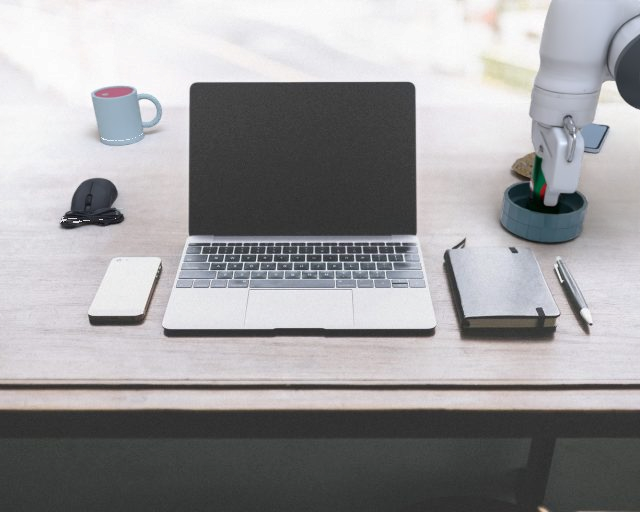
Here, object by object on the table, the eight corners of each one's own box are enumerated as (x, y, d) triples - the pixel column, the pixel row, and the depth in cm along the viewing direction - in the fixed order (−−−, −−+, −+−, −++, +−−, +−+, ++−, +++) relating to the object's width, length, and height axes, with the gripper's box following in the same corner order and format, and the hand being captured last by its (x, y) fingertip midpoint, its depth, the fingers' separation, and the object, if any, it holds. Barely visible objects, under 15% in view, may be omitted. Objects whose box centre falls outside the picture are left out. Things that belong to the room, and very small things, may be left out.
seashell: (506, 154, 117) (549, 139, 114) (514, 179, 119) (556, 165, 117) (514, 171, 110) (560, 156, 107) (522, 198, 112) (567, 183, 110)
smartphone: (560, 144, 124) (574, 120, 135) (559, 148, 125) (574, 124, 136) (599, 150, 121) (611, 125, 132) (598, 154, 122) (610, 129, 133)
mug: (99, 147, 129) (89, 100, 124) (101, 132, 137) (92, 87, 132) (166, 141, 132) (159, 94, 127) (165, 126, 140) (158, 82, 134)
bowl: (573, 210, 102) (579, 182, 99) (588, 248, 91) (595, 218, 89) (496, 206, 103) (500, 178, 101) (503, 242, 93) (508, 213, 91)
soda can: (528, 210, 100) (540, 139, 94) (560, 217, 98) (575, 145, 91) (519, 223, 96) (532, 150, 90) (553, 231, 94) (568, 157, 88)
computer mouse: (131, 186, 112) (127, 167, 110) (124, 224, 100) (120, 203, 98) (73, 192, 111) (68, 172, 109) (59, 230, 99) (53, 209, 97)
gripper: (603, 132, 78) (580, 228, 85) (573, 85, 95) (556, 168, 103) (551, 130, 79) (533, 225, 86) (530, 84, 96) (517, 167, 103)
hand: (545, 194), depth 95 cm, fingers closed on soda can, 5 cm apart
